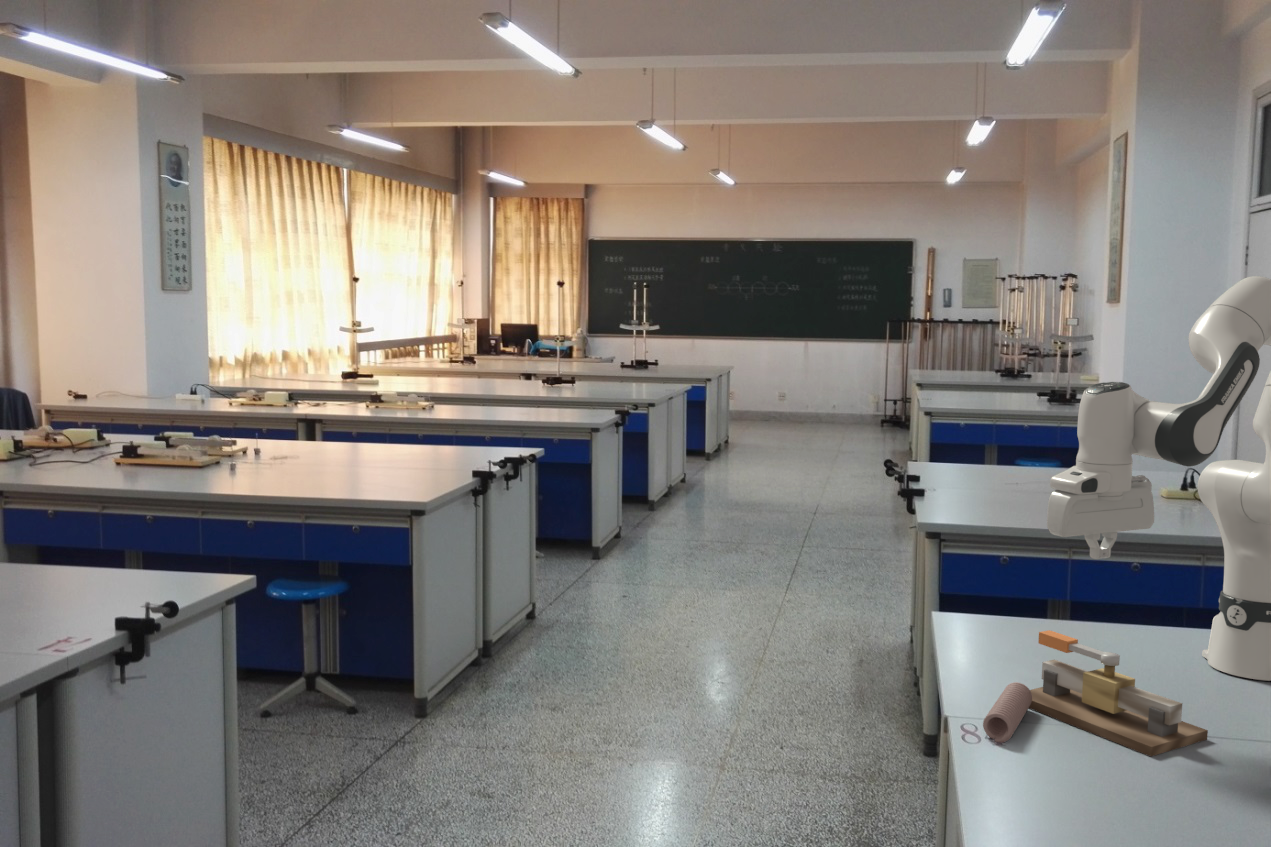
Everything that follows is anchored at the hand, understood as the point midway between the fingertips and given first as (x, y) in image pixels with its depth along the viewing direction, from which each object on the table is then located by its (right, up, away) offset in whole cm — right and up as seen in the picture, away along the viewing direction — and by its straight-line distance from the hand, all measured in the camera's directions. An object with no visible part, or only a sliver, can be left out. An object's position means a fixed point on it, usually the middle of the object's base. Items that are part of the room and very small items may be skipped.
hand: (1099, 557), depth 190 cm
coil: (-19, -26, -10) cm, 34 cm away
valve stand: (-2, -26, -8) cm, 27 cm away
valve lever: (-5, -16, -4) cm, 17 cm away
